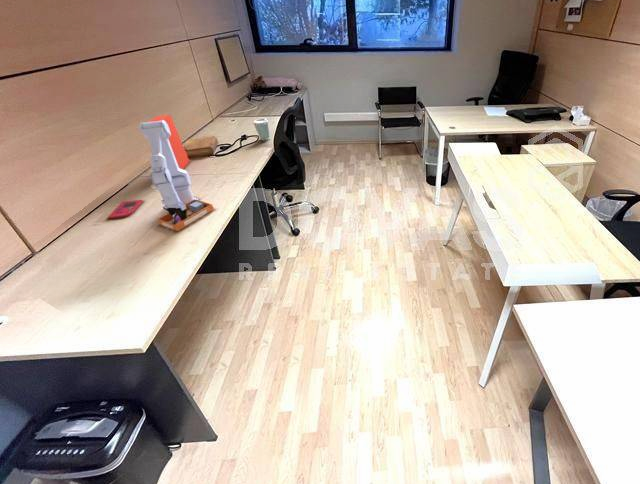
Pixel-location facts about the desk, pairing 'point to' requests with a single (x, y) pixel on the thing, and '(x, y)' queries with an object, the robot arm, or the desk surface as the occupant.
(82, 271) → the desk surface
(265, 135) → the disposable coffee cup
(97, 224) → the desk surface
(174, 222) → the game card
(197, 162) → the desk surface
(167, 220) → the wooden tray
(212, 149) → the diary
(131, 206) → the handheld gaming console
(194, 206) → the small cube
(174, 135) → the file binder
